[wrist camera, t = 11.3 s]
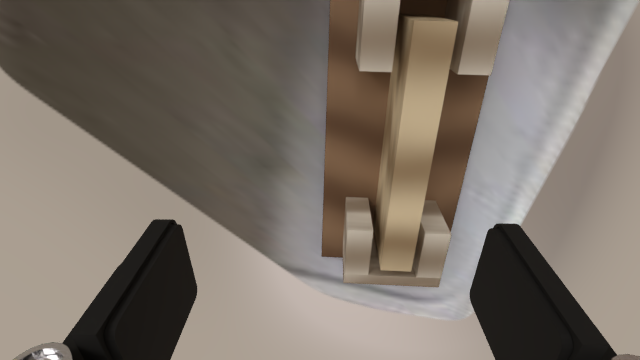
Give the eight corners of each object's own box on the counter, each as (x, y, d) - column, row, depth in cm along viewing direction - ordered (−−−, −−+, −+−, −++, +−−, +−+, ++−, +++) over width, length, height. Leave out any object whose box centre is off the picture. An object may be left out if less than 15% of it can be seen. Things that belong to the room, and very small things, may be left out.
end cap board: (332, -55, 24) (331, -68, 18) (511, -51, 24) (564, -63, 18) (322, 248, 36) (319, 294, 31) (440, 253, 36) (458, 301, 30)
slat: (397, 14, 25) (414, 20, 19) (432, 15, 25) (458, 21, 19) (373, 225, 33) (380, 270, 28) (399, 226, 33) (411, 271, 28)
